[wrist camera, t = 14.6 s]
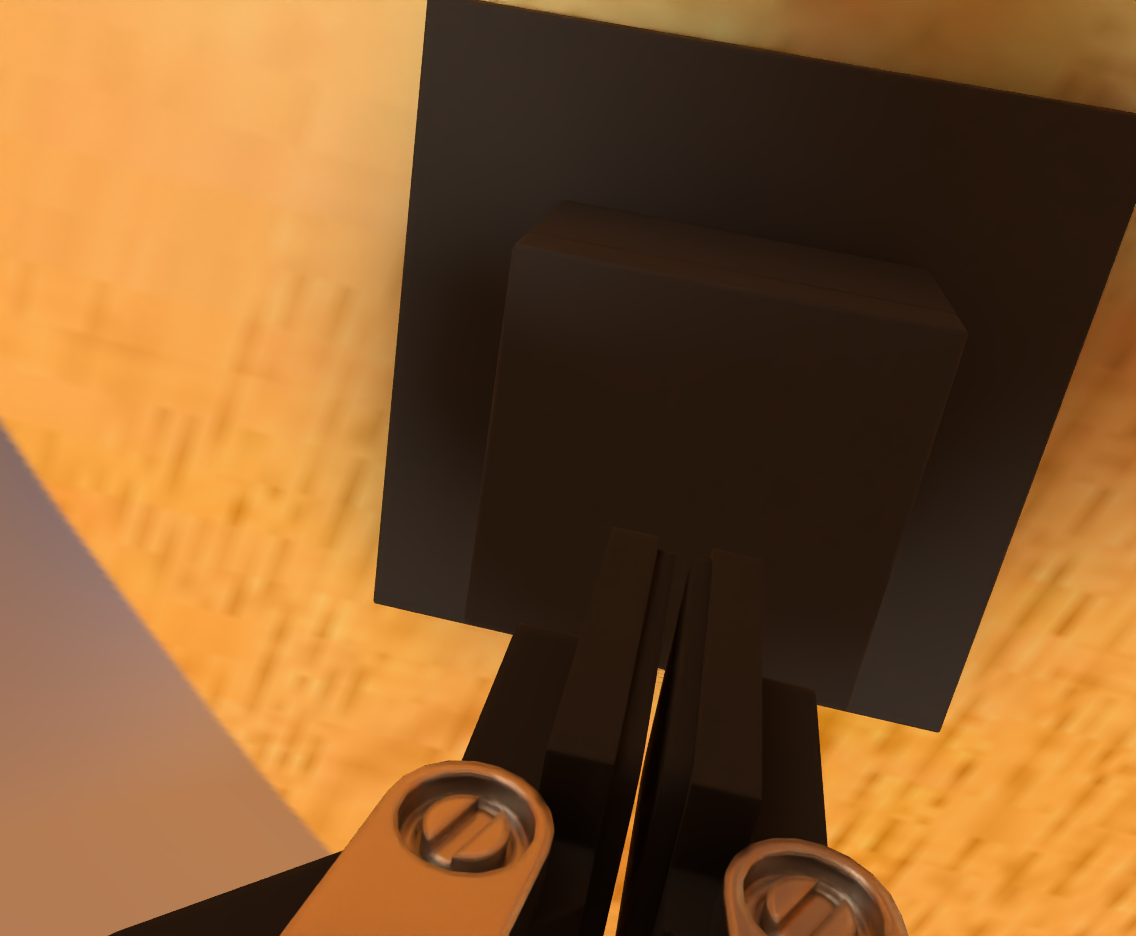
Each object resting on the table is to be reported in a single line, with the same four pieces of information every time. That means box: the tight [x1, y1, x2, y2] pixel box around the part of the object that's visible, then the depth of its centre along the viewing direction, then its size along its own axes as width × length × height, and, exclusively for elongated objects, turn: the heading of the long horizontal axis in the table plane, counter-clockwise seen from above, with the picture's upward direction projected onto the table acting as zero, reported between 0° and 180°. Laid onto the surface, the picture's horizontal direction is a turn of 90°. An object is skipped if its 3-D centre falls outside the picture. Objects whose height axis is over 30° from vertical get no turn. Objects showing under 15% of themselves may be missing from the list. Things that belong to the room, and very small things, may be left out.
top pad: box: [464, 201, 968, 709], centre depth 18 cm, size 6×6×4 cm
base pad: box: [374, 0, 1136, 732], centre depth 19 cm, size 12×12×3 cm
